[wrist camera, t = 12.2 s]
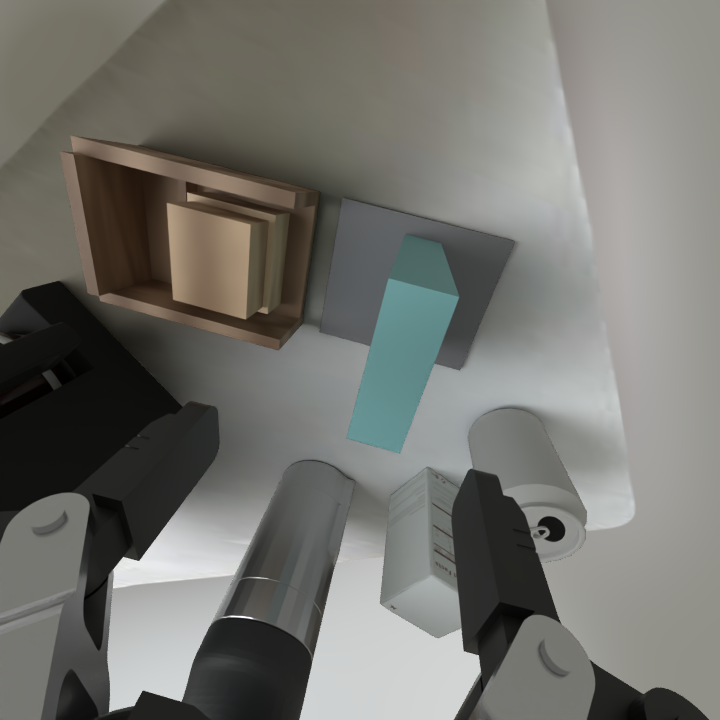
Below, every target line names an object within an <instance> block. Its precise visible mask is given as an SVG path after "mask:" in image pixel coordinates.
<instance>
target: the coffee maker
mask: <svg viewBox="0 0 720 720" xmlns="http://www.w3.org/2000/svg"><path fill="white" fill-rule="evenodd" d="M182 408H183V407H182V406H181V405H180V404H179V403H178V402H177V401H176V400H175V399H174V398H173V397H172V396H171V395H170V394H169V393H168V392H167V391H166V390H165V389H164V388H163V387H162V386H161V385H160V384H159V383H158V382H157V381H156V380H155V379H154V378H153V377H152V376H151V375H150V374H149V373H148V372H147V371H146V370H145V368H144V367H143V366H142V365H141V364H140V363H139V362H138V361H137V360H136V359H135V358H134V357H133V356H132V355H131V354H130V353H129V352H128V351H127V350H126V349H125V348H124V347H123V346H122V345H121V344H120V343H119V342H118V341H117V340H116V339H115V338H114V337H113V336H112V335H111V334H110V333H109V332H108V331H107V330H106V329H105V328H104V327H103V326H102V325H101V323H100V322H99V321H98V320H97V319H96V318H95V317H94V316H93V315H92V314H91V313H90V312H89V311H88V310H87V309H86V308H85V307H84V306H83V305H82V304H81V303H80V302H79V301H78V300H77V299H76V298H75V297H74V296H73V295H72V294H71V293H70V292H69V291H68V290H67V289H66V288H65V287H64V286H63V285H62V284H61V283H60V282H59V281H56V282H52V283H48V284H44V285H41V286H37V287H33V288H29V289H25V290H23V291H22V292H21V293H20V294H19V296H18V297H17V298H16V299H15V300H14V302H13V303H12V304H11V305H10V307H9V308H8V309H7V310H6V311H5V313H4V314H3V315H2V316H1V317H0V512H3V511H21V510H23V509H25V508H26V507H27V506H29V505H31V504H33V503H34V502H36V501H38V500H40V499H43V498H45V497H48V496H51V495H55V494H60V493H71V492H72V491H74V490H75V489H76V488H77V487H79V486H80V485H81V484H82V483H83V482H84V481H85V480H86V479H88V478H89V477H90V476H91V475H92V474H93V473H94V472H96V471H97V470H98V469H99V468H100V467H101V466H102V465H103V464H105V463H106V462H107V461H108V460H109V459H110V458H111V457H113V456H114V455H115V454H116V453H117V452H118V451H119V450H120V449H122V448H125V446H126V444H127V443H128V442H129V441H131V440H132V439H133V438H134V437H137V434H139V433H140V432H141V431H142V430H143V429H144V428H145V427H146V426H148V425H149V424H150V423H151V422H153V421H155V420H157V419H159V418H161V417H163V416H165V415H167V414H169V413H170V414H174V415H175V414H176V413H178V412H179V411H180V410H181V409H182Z"/></svg>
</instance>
